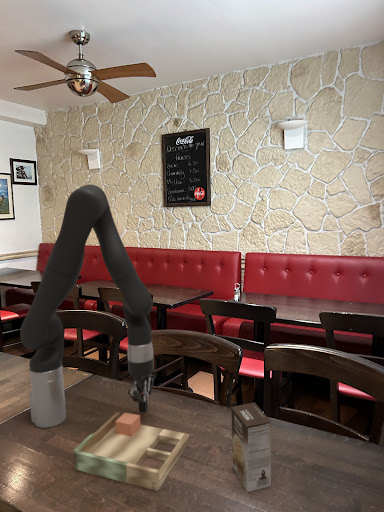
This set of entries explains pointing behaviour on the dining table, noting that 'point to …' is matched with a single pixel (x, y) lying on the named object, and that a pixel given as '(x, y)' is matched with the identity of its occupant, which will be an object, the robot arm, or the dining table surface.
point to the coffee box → (251, 446)
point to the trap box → (129, 454)
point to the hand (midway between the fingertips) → (143, 411)
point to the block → (128, 424)
